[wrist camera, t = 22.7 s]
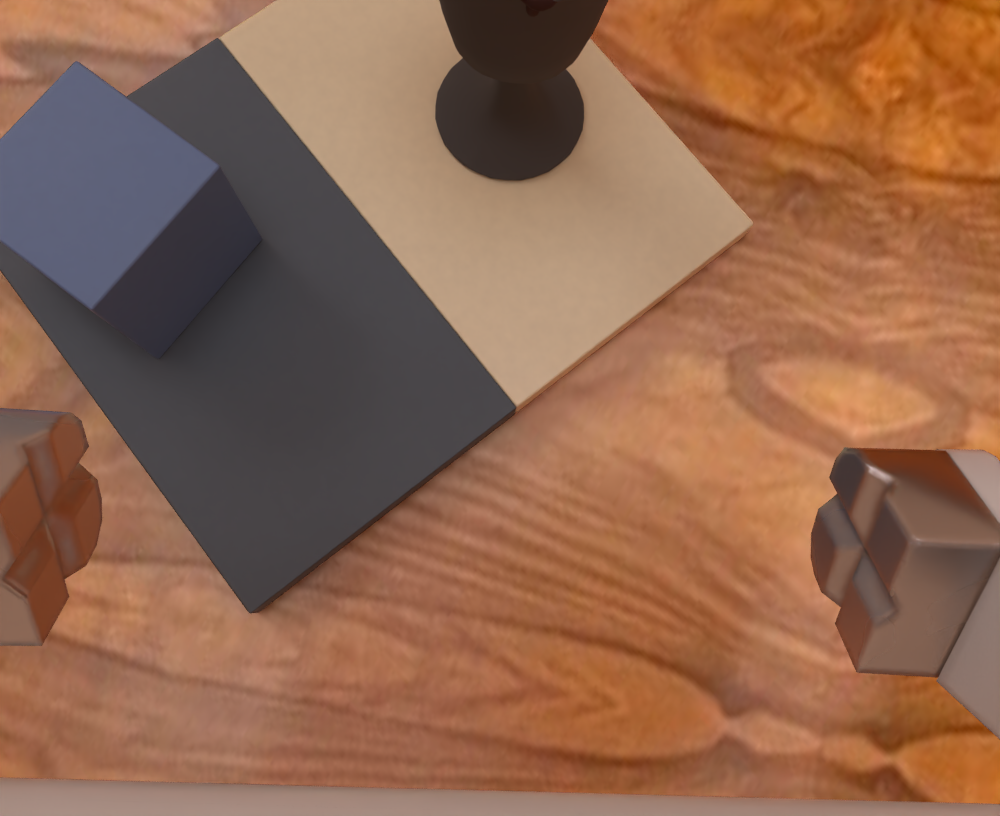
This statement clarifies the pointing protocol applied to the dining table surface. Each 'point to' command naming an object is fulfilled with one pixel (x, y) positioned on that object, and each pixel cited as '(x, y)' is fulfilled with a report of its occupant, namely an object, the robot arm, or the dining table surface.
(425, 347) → the board
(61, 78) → the blue block
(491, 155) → the sundae
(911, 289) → the dining table surface
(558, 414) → the dining table surface
